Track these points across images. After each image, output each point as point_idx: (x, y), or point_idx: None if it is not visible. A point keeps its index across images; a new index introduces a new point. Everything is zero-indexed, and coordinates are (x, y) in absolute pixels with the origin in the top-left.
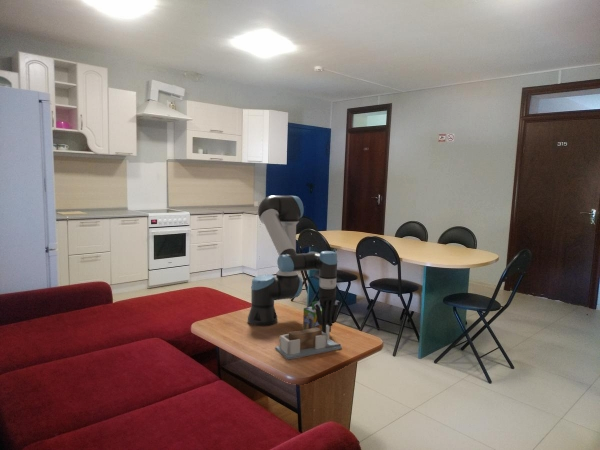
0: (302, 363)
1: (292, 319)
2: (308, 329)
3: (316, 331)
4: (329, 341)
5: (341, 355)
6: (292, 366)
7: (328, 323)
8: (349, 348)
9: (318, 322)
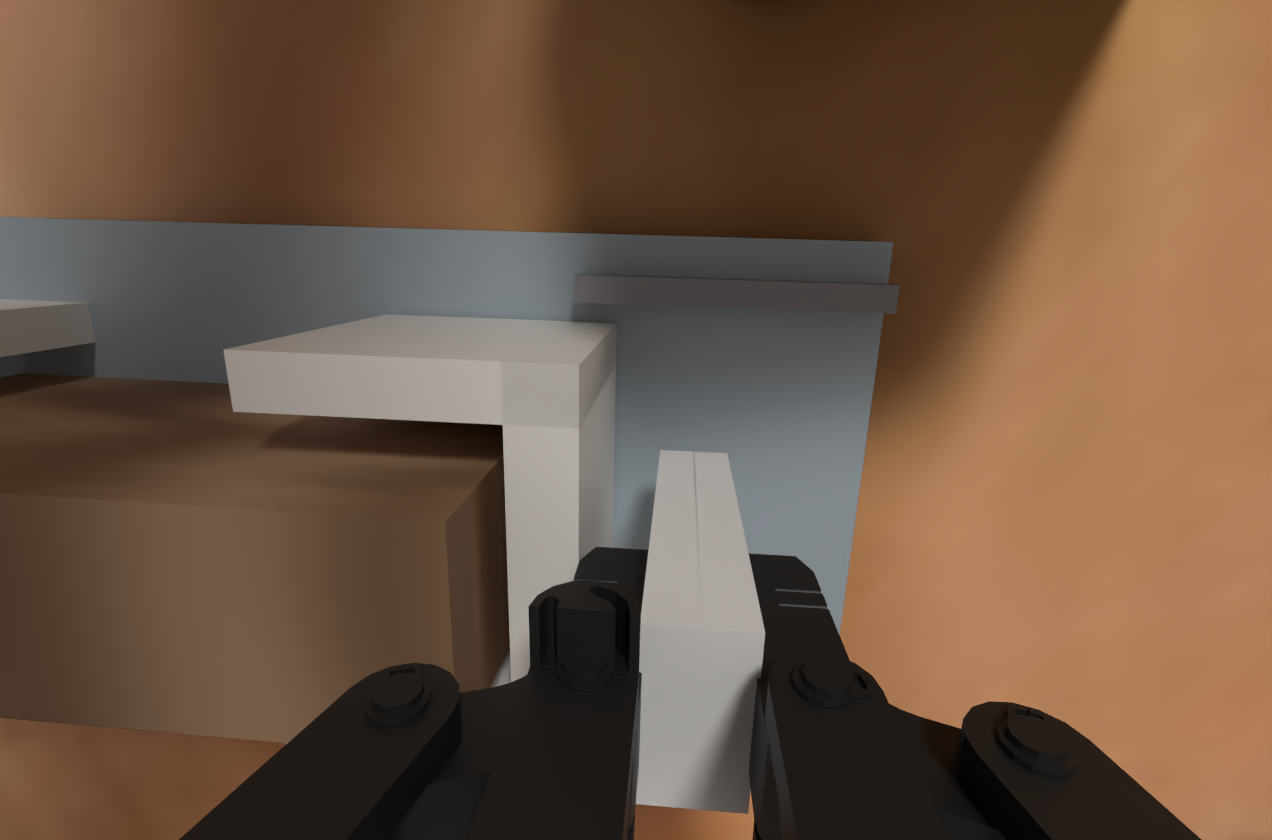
0: (136, 758)
1: None
2: (123, 541)
3: (289, 740)
4: (791, 451)
5: (675, 814)
6: (10, 762)
7: (757, 818)
8: (931, 714)
9: (332, 746)
